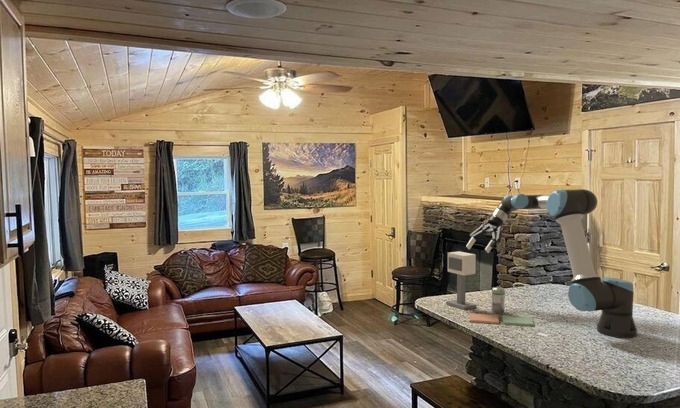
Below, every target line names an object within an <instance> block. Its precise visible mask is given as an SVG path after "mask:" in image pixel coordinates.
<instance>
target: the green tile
mask: <svg viewBox="0 0 680 408" xmlns="http://www.w3.org/2000/svg"><path fill="white" fill-rule="evenodd" d="M501 315H502V316H501V318H502V324H503V325H510V326H522V327H523V326H524V327H534V325H535V323H534V321H533V319H532V317H531V316H518V315H503V314H501Z"/></svg>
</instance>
